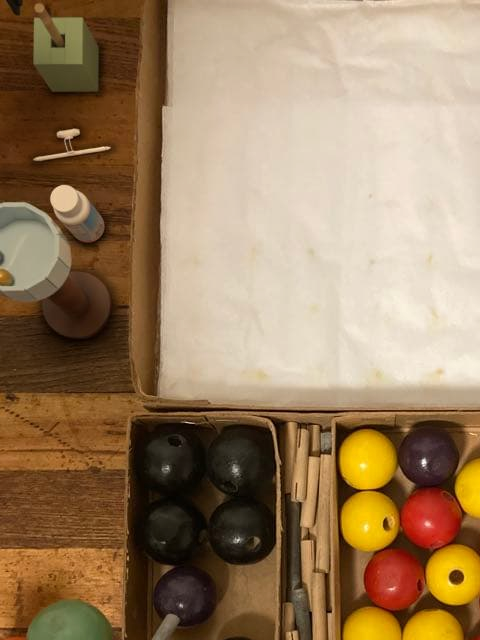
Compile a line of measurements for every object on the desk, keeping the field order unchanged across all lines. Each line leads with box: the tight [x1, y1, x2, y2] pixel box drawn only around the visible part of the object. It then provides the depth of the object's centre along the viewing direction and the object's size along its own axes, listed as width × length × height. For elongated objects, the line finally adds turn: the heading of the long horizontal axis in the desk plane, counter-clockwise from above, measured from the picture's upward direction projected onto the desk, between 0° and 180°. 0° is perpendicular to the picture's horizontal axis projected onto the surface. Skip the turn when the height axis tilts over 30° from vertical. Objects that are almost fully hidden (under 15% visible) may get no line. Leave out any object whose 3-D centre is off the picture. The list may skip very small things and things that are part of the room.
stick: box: [33, 2, 65, 48], centre depth 145 cm, size 2×2×16 cm
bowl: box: [0, 201, 72, 303], centre depth 127 cm, size 13×13×5 cm
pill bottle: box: [49, 184, 105, 243], centre depth 146 cm, size 6×6×11 cm
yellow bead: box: [0, 269, 12, 286], centre depth 127 cm, size 3×3×3 cm
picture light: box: [32, 128, 111, 162], centre depth 151 cm, size 14×4×2 cm, turn 100°
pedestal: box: [41, 270, 113, 340], centre depth 140 cm, size 12×12×21 cm
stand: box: [32, 17, 100, 93], centre depth 149 cm, size 8×8×8 cm
